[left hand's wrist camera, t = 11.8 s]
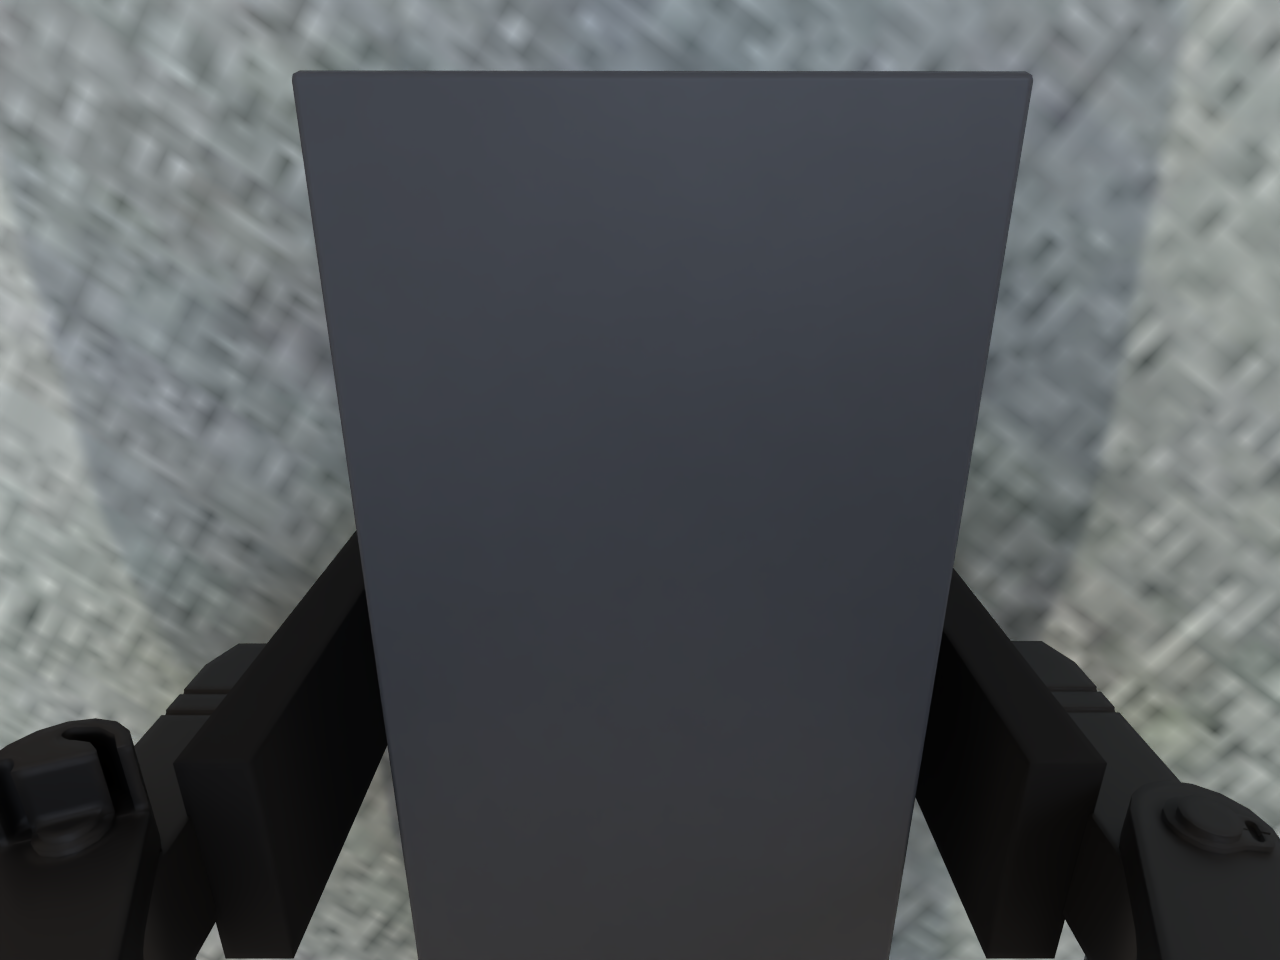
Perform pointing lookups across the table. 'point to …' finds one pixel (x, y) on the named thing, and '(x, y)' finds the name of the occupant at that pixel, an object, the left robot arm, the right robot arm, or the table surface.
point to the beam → (658, 482)
